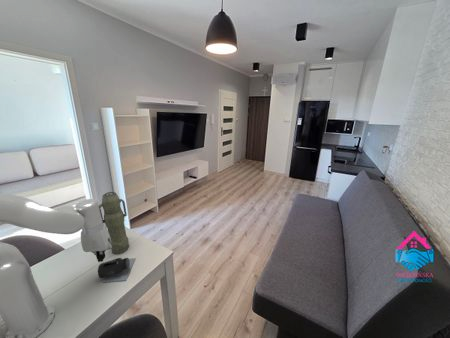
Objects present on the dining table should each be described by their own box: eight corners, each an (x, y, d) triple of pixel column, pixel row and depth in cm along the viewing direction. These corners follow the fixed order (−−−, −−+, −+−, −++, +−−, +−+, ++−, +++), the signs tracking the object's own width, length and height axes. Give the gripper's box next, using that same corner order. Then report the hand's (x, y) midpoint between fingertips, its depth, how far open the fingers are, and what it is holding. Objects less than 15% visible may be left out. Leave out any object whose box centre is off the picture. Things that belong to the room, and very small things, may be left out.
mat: (126, 280, 85) (125, 280, 85) (103, 282, 84) (102, 282, 83) (135, 258, 97) (135, 258, 97) (115, 260, 96) (115, 259, 96)
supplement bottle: (105, 274, 89) (131, 266, 91) (98, 282, 82) (127, 273, 85) (102, 260, 89) (128, 253, 91) (95, 267, 82) (124, 259, 85)
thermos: (106, 249, 102) (93, 194, 91) (129, 240, 110) (119, 187, 99) (110, 259, 96) (97, 201, 85) (134, 247, 104) (124, 193, 93)
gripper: (68, 233, 74) (79, 267, 80) (107, 231, 76) (115, 264, 82) (79, 222, 81) (89, 254, 87) (115, 220, 83) (122, 251, 89)
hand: (101, 259), depth 85 cm, fingers closed
